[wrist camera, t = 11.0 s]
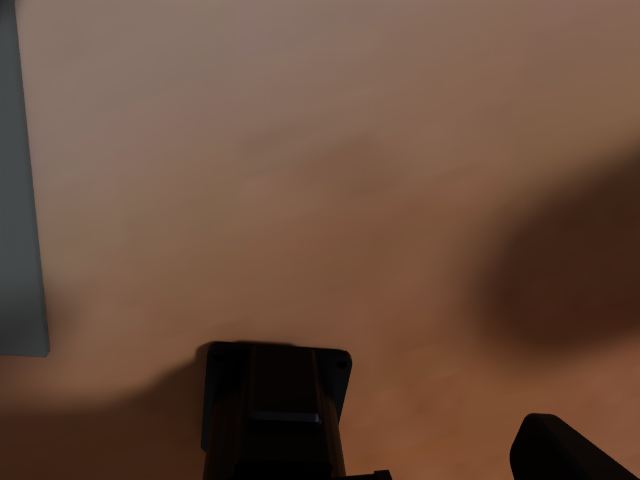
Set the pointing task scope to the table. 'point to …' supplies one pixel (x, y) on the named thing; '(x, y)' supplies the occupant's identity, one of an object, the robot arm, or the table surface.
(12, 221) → the mat
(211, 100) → the table surface
